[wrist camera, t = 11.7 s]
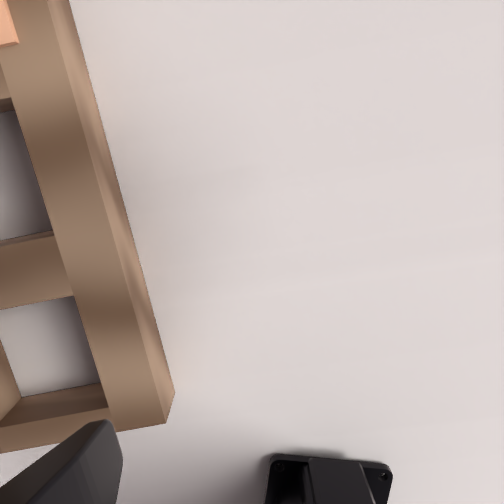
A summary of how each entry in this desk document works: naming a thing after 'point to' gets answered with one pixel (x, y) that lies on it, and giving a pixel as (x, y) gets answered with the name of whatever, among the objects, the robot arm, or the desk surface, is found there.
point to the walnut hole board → (73, 239)
